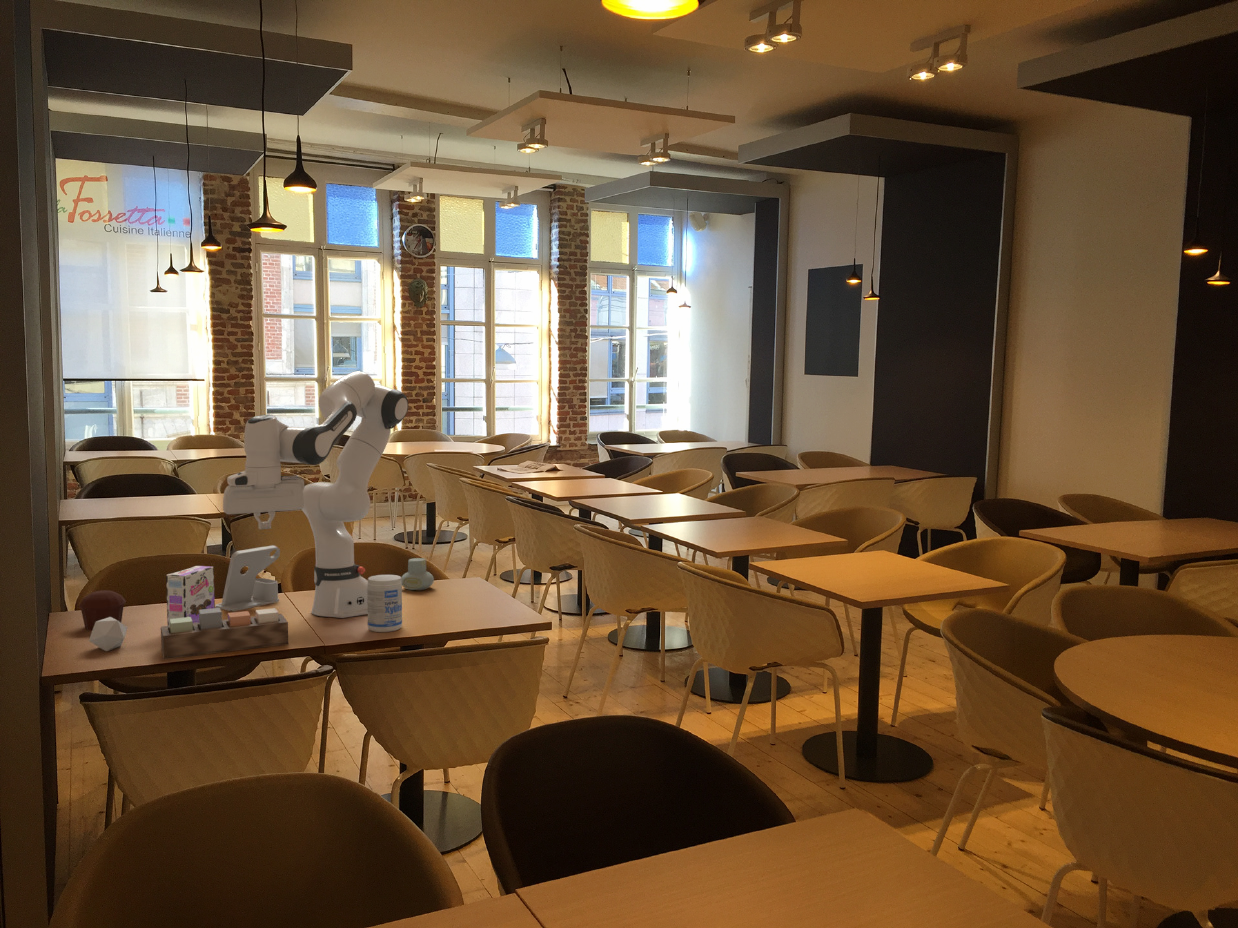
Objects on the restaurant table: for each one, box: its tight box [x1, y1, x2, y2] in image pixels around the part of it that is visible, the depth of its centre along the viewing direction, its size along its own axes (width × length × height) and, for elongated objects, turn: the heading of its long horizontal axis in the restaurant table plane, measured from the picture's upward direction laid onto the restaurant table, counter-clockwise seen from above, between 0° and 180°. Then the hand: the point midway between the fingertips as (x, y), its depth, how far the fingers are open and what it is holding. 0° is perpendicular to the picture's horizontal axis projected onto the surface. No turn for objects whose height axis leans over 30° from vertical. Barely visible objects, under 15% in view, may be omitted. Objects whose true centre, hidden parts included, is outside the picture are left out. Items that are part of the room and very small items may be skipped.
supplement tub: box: [367, 574, 403, 633], centre depth 271 cm, size 10×10×15 cm
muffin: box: [78, 589, 127, 631], centre depth 271 cm, size 12×11×10 cm
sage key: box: [170, 617, 193, 633], centre depth 247 cm, size 5×5×5 cm
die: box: [88, 617, 128, 652], centre depth 250 cm, size 8×9×10 cm
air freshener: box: [400, 557, 435, 591], centre depth 322 cm, size 11×8×10 cm
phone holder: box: [215, 544, 281, 612], centre depth 298 cm, size 17×10×18 cm, turn 145°
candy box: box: [165, 565, 216, 626], centre depth 271 cm, size 14×6×16 cm, turn 168°
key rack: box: [160, 613, 289, 660], centre depth 252 cm, size 30×10×6 cm, turn 119°
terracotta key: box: [227, 610, 251, 627], centre depth 254 cm, size 5×5×5 cm
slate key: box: [199, 607, 223, 630], centre depth 250 cm, size 5×5×5 cm
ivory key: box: [255, 607, 279, 624], centre depth 257 cm, size 5×5×5 cm
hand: (264, 528), depth 255 cm, fingers closed
